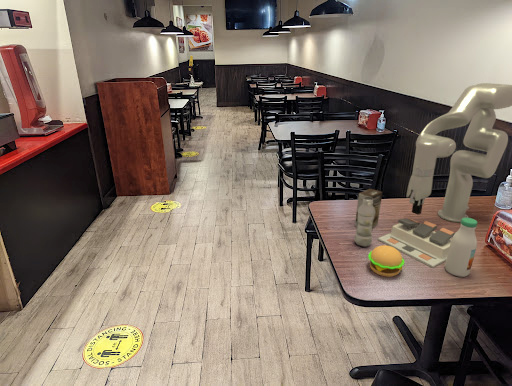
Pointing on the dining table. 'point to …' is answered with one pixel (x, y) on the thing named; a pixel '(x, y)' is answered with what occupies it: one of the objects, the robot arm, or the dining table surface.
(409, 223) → the switch
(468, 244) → the milk bottle
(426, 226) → the switch middle
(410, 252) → the switch board
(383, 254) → the hamburger
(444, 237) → the switch
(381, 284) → the dining table surface
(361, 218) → the plastic bottle
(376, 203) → the coffee box
